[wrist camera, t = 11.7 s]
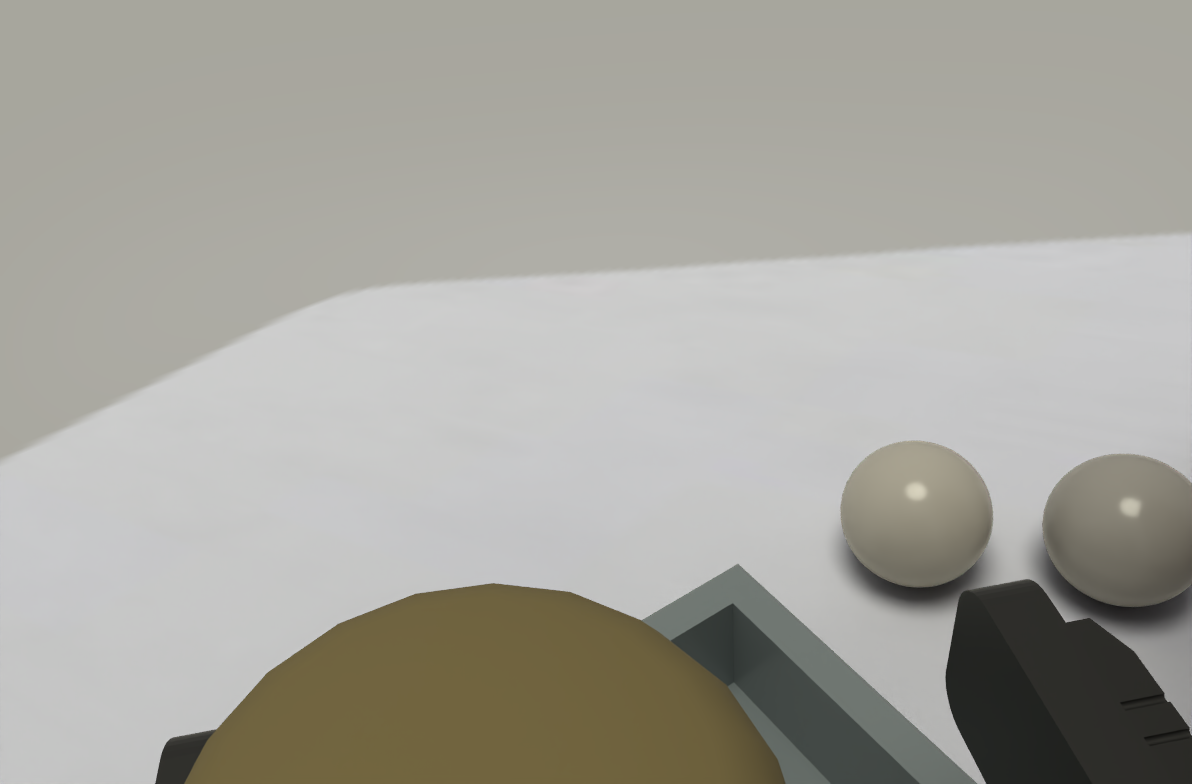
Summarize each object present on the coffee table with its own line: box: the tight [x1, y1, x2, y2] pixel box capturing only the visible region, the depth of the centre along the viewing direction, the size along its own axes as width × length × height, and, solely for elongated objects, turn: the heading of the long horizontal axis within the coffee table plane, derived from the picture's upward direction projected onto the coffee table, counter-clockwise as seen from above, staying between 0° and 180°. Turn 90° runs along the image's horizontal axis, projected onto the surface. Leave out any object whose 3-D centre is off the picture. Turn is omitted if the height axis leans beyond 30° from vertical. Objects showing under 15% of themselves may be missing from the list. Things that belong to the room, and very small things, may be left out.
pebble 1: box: [840, 441, 993, 588], centre depth 23 cm, size 3×3×3 cm
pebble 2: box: [1042, 454, 1192, 607], centre depth 22 cm, size 3×3×3 cm
